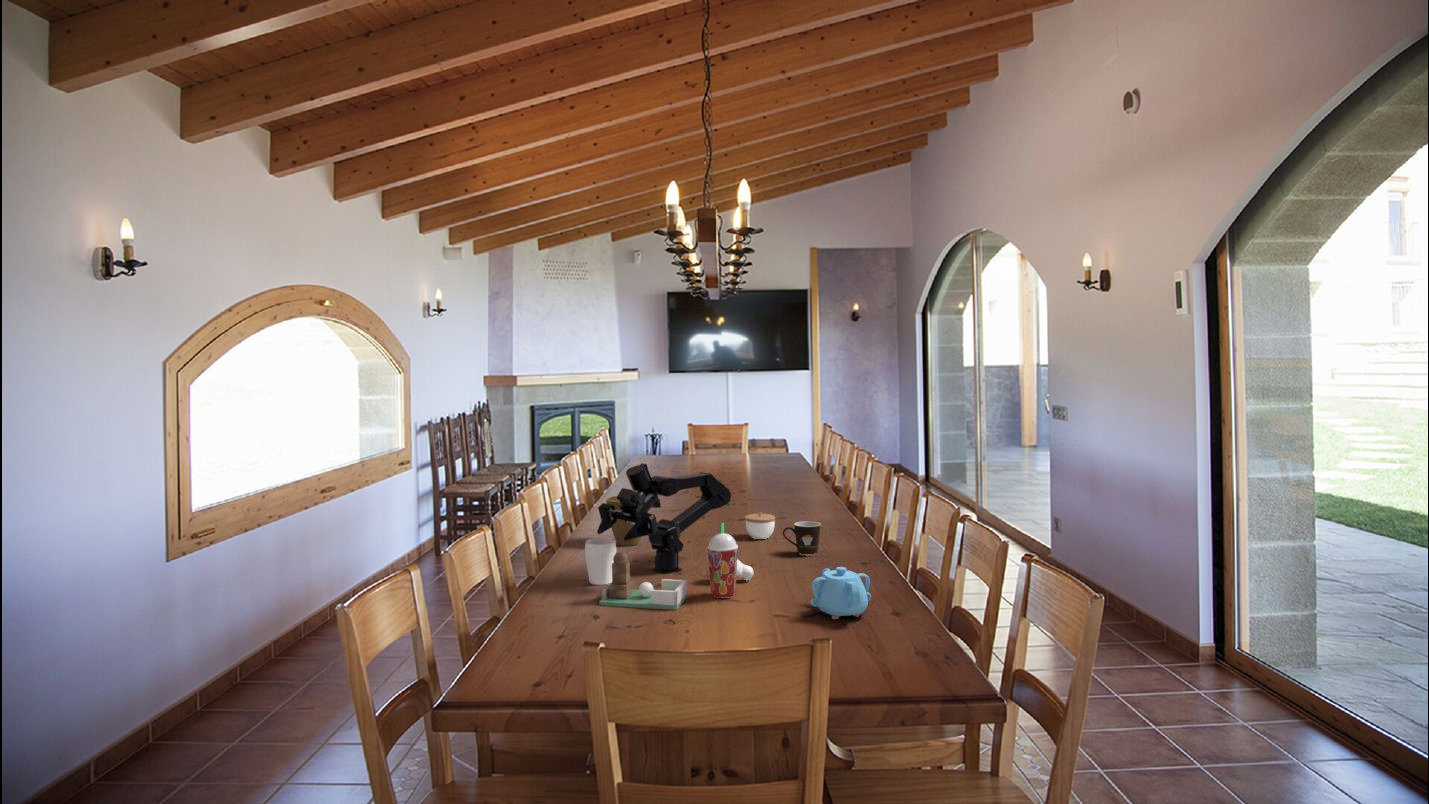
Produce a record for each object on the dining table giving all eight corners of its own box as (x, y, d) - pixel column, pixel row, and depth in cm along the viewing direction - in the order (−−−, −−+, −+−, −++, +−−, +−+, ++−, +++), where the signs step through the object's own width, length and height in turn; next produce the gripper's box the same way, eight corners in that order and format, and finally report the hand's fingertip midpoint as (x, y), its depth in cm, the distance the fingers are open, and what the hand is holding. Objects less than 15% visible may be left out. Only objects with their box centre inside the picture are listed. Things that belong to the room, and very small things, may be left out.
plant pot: (647, 548, 272) (646, 502, 271) (603, 548, 272) (602, 502, 271) (651, 538, 286) (650, 494, 286) (609, 538, 287) (609, 494, 286)
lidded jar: (743, 540, 282) (743, 514, 281) (747, 534, 292) (747, 508, 292) (773, 541, 280) (773, 515, 280) (776, 535, 291) (776, 509, 290)
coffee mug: (824, 553, 264) (825, 523, 263) (813, 558, 257) (813, 528, 256) (793, 548, 270) (793, 519, 270) (781, 554, 263) (781, 524, 262)
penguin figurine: (713, 549, 235) (754, 552, 235) (711, 577, 235) (751, 581, 235) (713, 554, 228) (755, 558, 229) (711, 583, 229) (752, 587, 229)
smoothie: (742, 592, 221) (741, 521, 220) (733, 601, 213) (732, 527, 212) (713, 590, 224) (713, 519, 222) (703, 598, 216) (702, 525, 215)
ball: (648, 593, 217) (648, 579, 217) (656, 597, 214) (656, 582, 214) (635, 596, 215) (635, 582, 214) (644, 600, 212) (643, 585, 211)
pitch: (599, 605, 211) (599, 588, 211) (614, 591, 223) (614, 576, 222) (676, 610, 206) (676, 592, 206) (687, 596, 218) (687, 579, 218)
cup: (610, 587, 227) (610, 545, 227) (580, 585, 229) (580, 544, 228) (620, 578, 236) (620, 538, 235) (591, 576, 238) (591, 536, 237)
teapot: (888, 622, 196) (888, 574, 195) (826, 629, 191) (826, 580, 191) (852, 598, 215) (852, 555, 215) (794, 604, 211) (794, 560, 210)
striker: (608, 597, 213) (608, 554, 213) (616, 590, 219) (615, 548, 218) (626, 598, 212) (626, 554, 212) (633, 591, 218) (632, 549, 217)
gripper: (610, 476, 236) (578, 507, 225) (663, 487, 227) (632, 519, 215) (618, 506, 241) (587, 538, 230) (669, 518, 232) (640, 551, 221)
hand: (611, 536), depth 224 cm, fingers open, 9 cm apart
